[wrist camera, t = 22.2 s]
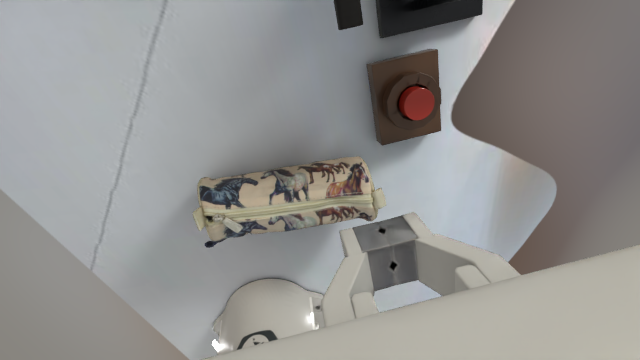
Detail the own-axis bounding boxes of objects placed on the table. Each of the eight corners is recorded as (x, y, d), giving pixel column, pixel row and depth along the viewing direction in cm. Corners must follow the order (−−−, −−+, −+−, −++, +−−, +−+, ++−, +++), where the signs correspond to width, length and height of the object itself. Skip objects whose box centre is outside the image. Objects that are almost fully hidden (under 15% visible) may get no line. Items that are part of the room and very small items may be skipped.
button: (428, 113, 37) (435, 116, 35) (400, 120, 37) (405, 123, 35) (427, 83, 35) (434, 84, 34) (397, 90, 35) (402, 92, 34)
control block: (433, 126, 42) (448, 134, 38) (376, 140, 41) (386, 150, 38) (429, 48, 37) (445, 49, 34) (366, 63, 37) (376, 66, 34)
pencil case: (216, 220, 43) (200, 266, 34) (201, 165, 40) (179, 200, 31) (366, 199, 45) (389, 237, 36) (365, 144, 41) (389, 171, 33)
